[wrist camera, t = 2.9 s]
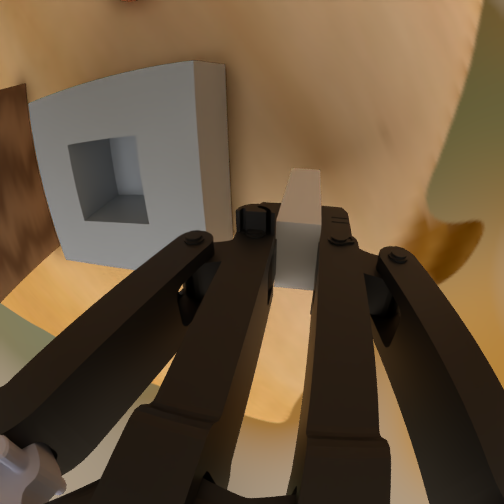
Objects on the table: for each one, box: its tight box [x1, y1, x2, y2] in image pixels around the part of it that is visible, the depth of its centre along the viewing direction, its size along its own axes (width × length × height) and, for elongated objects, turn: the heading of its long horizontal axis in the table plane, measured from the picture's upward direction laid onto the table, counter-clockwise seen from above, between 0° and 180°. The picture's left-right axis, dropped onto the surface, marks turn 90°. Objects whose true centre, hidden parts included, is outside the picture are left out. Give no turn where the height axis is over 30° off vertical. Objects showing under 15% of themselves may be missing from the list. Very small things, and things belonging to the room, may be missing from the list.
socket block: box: [28, 60, 233, 270], centre depth 20 cm, size 14×14×6 cm
